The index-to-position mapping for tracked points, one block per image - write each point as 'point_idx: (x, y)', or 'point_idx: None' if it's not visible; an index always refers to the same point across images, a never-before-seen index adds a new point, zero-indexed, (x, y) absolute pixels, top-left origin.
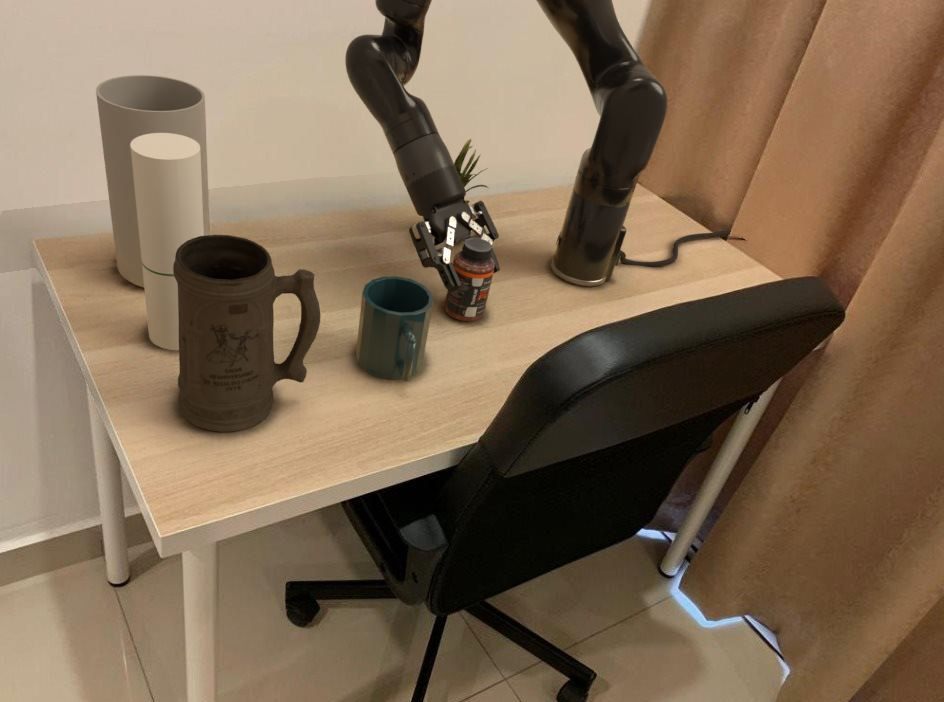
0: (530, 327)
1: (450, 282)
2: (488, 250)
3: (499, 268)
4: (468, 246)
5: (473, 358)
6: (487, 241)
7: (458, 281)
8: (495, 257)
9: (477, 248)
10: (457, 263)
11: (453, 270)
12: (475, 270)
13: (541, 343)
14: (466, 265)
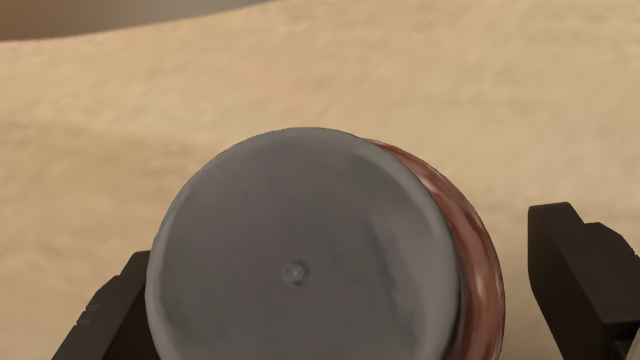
0: (204, 104)
1: (623, 242)
2: (285, 130)
3: (137, 252)
4: (444, 280)
5: (554, 54)
6: (149, 275)
7: (558, 220)
8: (87, 319)
9: (372, 201)
10: (501, 332)
11: (595, 274)
12: (434, 169)
13: (249, 19)
14: (478, 237)
